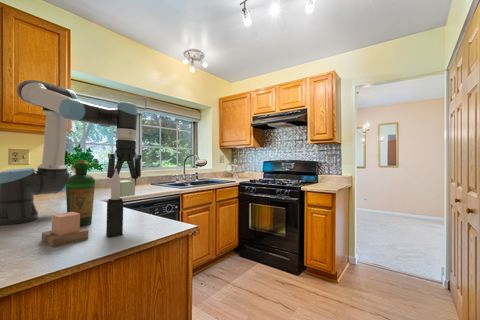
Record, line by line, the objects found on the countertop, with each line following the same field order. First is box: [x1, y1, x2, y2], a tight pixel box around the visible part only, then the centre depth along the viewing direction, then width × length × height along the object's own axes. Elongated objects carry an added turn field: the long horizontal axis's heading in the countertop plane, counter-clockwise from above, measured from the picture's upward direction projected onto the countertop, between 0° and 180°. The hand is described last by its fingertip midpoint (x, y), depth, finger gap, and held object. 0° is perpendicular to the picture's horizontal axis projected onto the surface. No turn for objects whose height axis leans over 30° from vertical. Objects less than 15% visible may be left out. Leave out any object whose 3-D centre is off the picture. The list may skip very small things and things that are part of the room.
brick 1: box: [51, 211, 81, 235], centre depth 78 cm, size 6×6×6 cm
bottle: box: [65, 159, 96, 227], centre depth 97 cm, size 11×11×28 cm
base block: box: [41, 226, 90, 248], centre depth 78 cm, size 10×10×3 cm
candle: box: [105, 168, 124, 238], centre depth 84 cm, size 5×5×25 cm
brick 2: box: [120, 179, 136, 198], centre depth 94 cm, size 6×6×6 cm
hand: (124, 194), depth 94 cm, fingers closed on brick 2, 6 cm apart
